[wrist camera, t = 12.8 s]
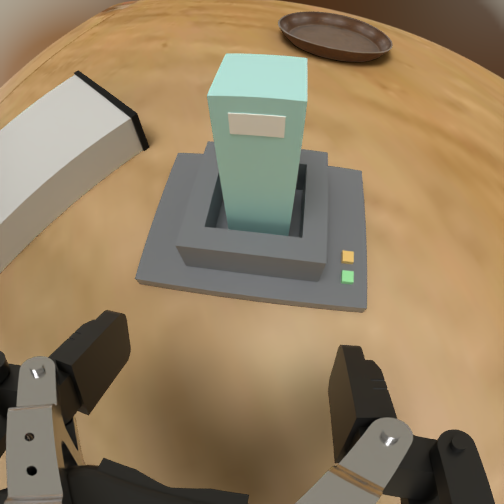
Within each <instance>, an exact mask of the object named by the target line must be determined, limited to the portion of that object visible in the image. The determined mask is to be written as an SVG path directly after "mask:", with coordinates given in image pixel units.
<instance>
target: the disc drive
mask: <svg viewBox="0 0 504 504" xmlns="http://www.w3.org/2000/svg"><path fill="white" fill-rule="evenodd" d="M74 74H75V75H74V76H72V77H71V78H69V79H68V80H66V81H64V82H63V83H61V84H60V85H58V86H57V87H56V88H54V89H53V90H51V91H50V92H48V93H47V94H46V95H44V96H43V97H41V98H40V99H39V100H37V101H36V102H35V103H33V104H32V105H31V106H29V107H28V108H27V109H26V110H24V111H23V112H22V113H20V114H19V115H18V116H17V117H16V118H14V119H13V120H12V121H11V122H10V123H8V124H7V125H6V126H5V127H4V128H3V129H1V130H0V273H1V272H2V271H3V270H4V269H5V268H6V267H7V266H8V264H9V263H10V262H11V261H12V260H13V259H14V258H15V257H16V256H17V255H18V254H19V253H20V252H21V251H22V250H23V249H24V248H25V247H26V246H27V245H28V244H29V243H30V242H31V241H32V240H33V239H34V238H35V237H36V236H37V235H39V234H40V233H41V232H42V231H43V230H44V229H45V228H46V227H47V226H48V225H49V224H50V223H52V222H53V221H54V220H55V219H56V218H57V217H58V216H59V215H60V214H62V213H63V212H64V211H65V210H66V209H67V208H69V207H70V206H71V205H72V204H73V203H74V202H76V201H77V200H78V199H79V198H80V197H82V196H83V195H84V194H85V193H87V192H88V191H89V190H90V189H91V188H93V187H94V186H95V185H96V184H98V183H99V182H100V181H102V180H103V179H104V178H105V177H107V176H108V175H109V174H111V173H112V172H113V171H115V170H116V169H117V168H119V167H120V166H121V165H123V164H124V163H126V162H127V161H128V160H130V159H131V158H133V157H134V156H135V155H137V154H138V153H140V152H141V151H143V150H144V151H145V150H146V149H148V148H149V145H148V142H147V140H146V137H145V134H144V131H143V129H142V126H141V123H140V120H139V117H138V115H137V113H136V112H134V111H133V110H132V109H130V108H129V107H128V106H126V105H125V104H124V103H122V102H121V101H120V100H118V99H117V98H116V97H114V96H113V95H112V94H110V93H109V92H107V91H106V90H105V89H103V88H102V87H101V86H99V85H98V84H96V83H95V82H94V81H92V80H91V79H89V78H88V77H87V76H85V75H84V74H82V73H81V72H80V71H76V72H75V73H74Z"/></svg>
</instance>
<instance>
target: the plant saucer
mask: <svg viewBox="0 0 504 504" xmlns="http://www.w3.org/2000/svg"><path fill="white" fill-rule="evenodd" d="M278 25H279V27H280V29H281V31H282V32H283V34H284V35H285V36H286V37H287V38H288V39H289V40H290V41H291V42H292V43H293V44H294V45H296V46H297V47H299V48H300V49H302V50H304V51H307V52H309V53H312V54H315V55H318V56H321V57H325V58H329V59H333V60H339V61H347V62H366V61H371V60H374V59H376V58H378V57H380V56H382V55H384V54H385V53H387V52H388V51H389V50H390V49H391V48H392V41H391V40H390V38H389V37H388V36H387V35H386V34H384V33H383V32H382V31H380V30H379V29H377V28H375V27H373V26H372V25H369V24H367V23H365V22H362V21H360V20H357V19H354V18H350V17H347V16H343V15H338V14H333V13H325V12H298V13H292V14H288V15H286V16H284V17H282V18H281V19H280V20H279V22H278Z"/></svg>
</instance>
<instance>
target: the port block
mask: <svg viewBox="0 0 504 504" xmlns="http://www.w3.org/2000/svg"><path fill="white" fill-rule="evenodd" d="M135 279H136V280H137V281H138V282H139V284H144V285H150V286H156V287H162V288H168V289H174V290H181V291H187V292H194V293H200V294H207V295H214V296H221V297H228V298H236V299H243V300H251V301H259V302H267V303H275V304H283V305H292V306H301V307H310V308H320V309H329V310H340V311H350V312H363V311H365V310H366V309H367V249H366V225H365V208H364V194H363V182H362V171H359V170H353V169H346V168H340V167H333V166H328V153H327V152H319V151H312V150H304V149H301V154H300V161H299V168H298V175H297V182H296V189H295V196H294V203H293V209H292V216H291V222H290V229H289V235H288V236H283V235H274V234H266V233H257V232H248V231H239V230H230V229H228V223H227V217H226V212H225V206H224V200H223V194H222V188H221V182H220V176H219V169H218V163H217V157H216V151H215V145H214V142H208V143H207V146H206V148H205V151H204V154H193V153H178V155H177V157H176V160H175V162H174V165H173V167H172V170H171V173H170V175H169V178H168V180H167V183H166V186H165V189H164V191H163V194H162V197H161V200H160V202H159V205H158V208H157V211H156V214H155V217H154V220H153V222H152V225H151V228H150V231H149V235H148V238H147V241H146V244H145V247H144V250H143V253H142V257H141V260H140V263H139V267H138V270H137V273H136V277H135Z"/></svg>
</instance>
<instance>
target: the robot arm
mask: <svg viewBox="0 0 504 504" xmlns="http://www.w3.org/2000/svg"><path fill="white" fill-rule="evenodd" d="M130 350H131V347H130V340H129V333H128V326H127V319H126V316H125V314H123V313H118V312H113V311H109V310H106V311H104V312H103V313H102V314H101V315H100V316H99V317H98V318H97V319H96V320H92V321H89V322H87V323H85V324H83V325H82V326H81V327H80V328H79V329H78V330H77V331H76V332H75V333H73V334H72V335H71V336H70V337H69V339H67V340H66V341H65V342H64V343H63V344H62V345H61V346H60V347H59V348H58V349H57V350H56V351H54V352H53V353H52V354H51V355H50V356H49V357H48V358H47V357H43V356H38V357H33V358H30V359H28V360H26V361H25V362H24V363H23V364H22V365H21V366H20V365H14V364H8V363H7V360H6V358H5V355H4V353H3V352H1V351H0V457H1V456H2V455H3V453H4V452H5V450H6V468H7V486H8V488H6V489H2V490H0V504H248V497H249V495H247V494H240V493H233V492H227V491H221V490H215V489H191V488H170V487H167V486H165V485H163V484H161V483H159V482H157V481H155V480H153V479H151V478H150V477H148V476H146V475H144V474H143V473H141V472H139V471H138V470H136V469H133V468H130V467H127V466H124V465H122V464H119V463H116V462H113V461H111V460H108V459H105V458H103V460H102V462H101V463H100V465H99V466H96V465H85V462H84V459H83V455H82V451H81V446H80V440H79V435H78V429H77V423H76V419H75V416H74V415H75V414H76V412H77V411H79V412H82V413H84V414H87V415H89V414H90V413H91V411H92V410H93V408H94V407H95V406H96V404H97V403H98V401H99V400H100V399H101V397H102V396H103V394H104V393H105V392H106V390H107V389H108V387H109V386H110V385H111V383H112V382H113V380H114V379H115V378H116V376H117V375H118V373H119V372H120V371H121V369H122V368H123V367H124V365H125V364H126V362H127V361H128V359H129V356H130ZM328 394H329V404H330V413H331V424H332V435H333V446H334V459H335V463H339V464H338V465H337V466H333V467H331V468H330V469H329V470H328V471H327V472H326V473H325V474H324V475H323V476H322V477H321V478H320V479H319V481H318V482H317V483H316V484H315V485H314V486H313V487H312V488H311V489H310V490H309V491H308V492H307V493H306V494H304V495H303V496H302V497H301V498H300V499H299V500H298V501H297V502H296V503H295V504H376V502H377V501H378V500H379V498H380V497H381V495H382V494H384V495H390V496H395V497H400V498H401V504H495V502H494V499H493V495H492V492H491V489H490V485H489V482H488V479H487V476H486V473H485V470H484V467H483V464H482V462H481V459H480V456H479V453H478V451H477V448H476V445H475V443H474V441H473V439H472V438H471V437H470V436H469V435H468V434H466V433H465V432H463V431H460V430H448V431H445V432H444V433H442V434H441V435H440V437H439V438H438V440H435V439H429V438H423V437H418V436H415V435H413V434H412V431H411V429H410V428H409V426H408V425H407V424H405V423H404V422H402V421H401V420H398V419H397V417H396V413H395V410H394V407H393V404H392V401H391V398H390V395H389V392H388V390H387V385H386V382H385V381H384V377H383V374H382V371H381V369H380V368H379V367H378V366H377V364H376V363H375V362H374V361H373V360H365V358H364V355H363V352H362V348H361V347H360V346H349V345H340V346H339V348H338V351H337V355H336V358H335V362H334V365H333V369H332V372H331V376H330V380H329V388H328Z"/></svg>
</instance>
